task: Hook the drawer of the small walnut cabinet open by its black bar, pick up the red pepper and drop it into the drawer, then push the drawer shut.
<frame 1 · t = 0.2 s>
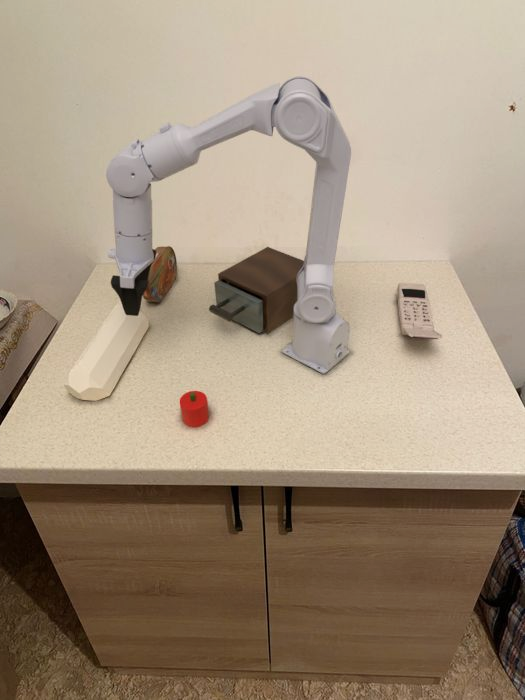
hand: (135, 301, 87), 11 cm above the countertop, tool pointing down, fingers open, 7 cm apart
pepper: (195, 417, 79), on the countertop
crystal: (112, 360, 91), on the countertop
mobile phone: (413, 323, 98), on the countertop
tin: (161, 291, 109), on the countertop
cabinet: (268, 306, 103), on the countertop
drawer: (252, 298, 98), point 4 cm above the countertop, slide at 0.5 cm
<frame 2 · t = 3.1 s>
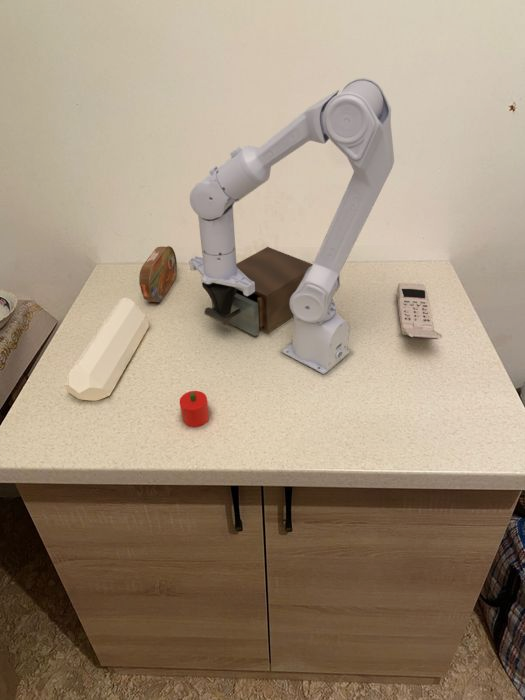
hand: (224, 314, 94), 5 cm above the countertop, tool pointing down, fingers closed, pressing on drawer
drawer: (247, 300, 97), point 4 cm above the countertop, slide at 1.7 cm, touching gripper
everything else where it was.
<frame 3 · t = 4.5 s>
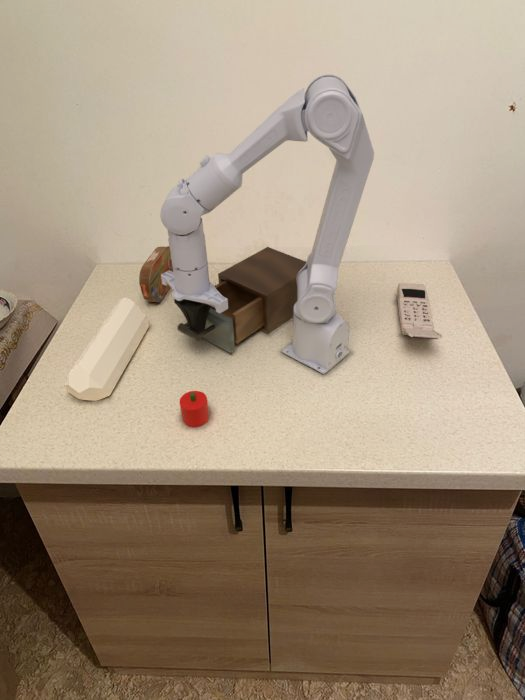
hand: (198, 330, 90), 4 cm above the countertop, tool pointing down, fingers closed, pressing on drawer
drawer: (223, 315, 94), point 4 cm above the countertop, slide at 8.3 cm, touching gripper
everything else where it was.
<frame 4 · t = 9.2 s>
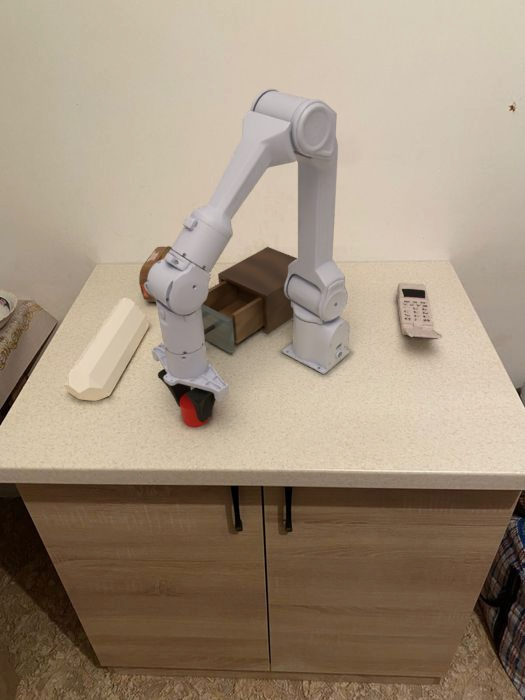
hand: (194, 411, 78), 1 cm above the countertop, tool pointing down, fingers closed on pepper, 4 cm apart
pepper: (196, 417, 79), on the countertop, touching gripper
drawer: (223, 315, 94), point 4 cm above the countertop, slide at 8.3 cm
everything else where it was.
when the fingers open (6 cm above the countertop, at t = 14.1 s): pepper drops 3 cm, resting on drawer.
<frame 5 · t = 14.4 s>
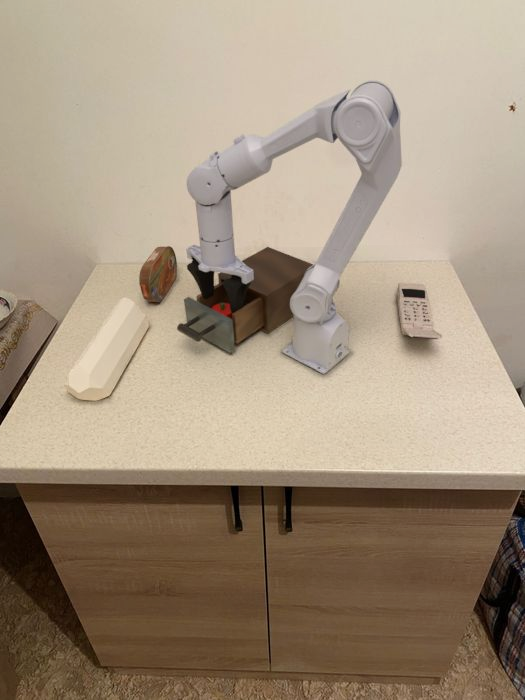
hand: (222, 303, 92), 7 cm above the countertop, tool pointing down, fingers open, 7 cm apart
pepper: (224, 325, 95), point 2 cm above the countertop, touching drawer
drawer: (223, 315, 94), point 4 cm above the countertop, slide at 8.3 cm, touching pepper
everything else where it was.
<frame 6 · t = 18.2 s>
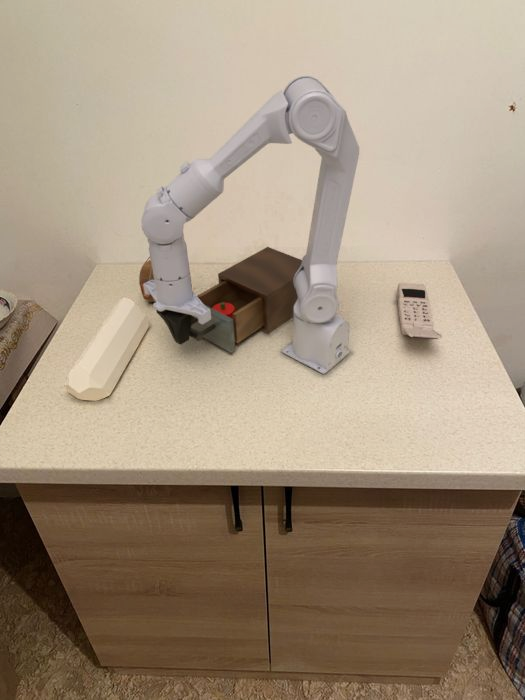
hand: (182, 340, 88), 4 cm above the countertop, tool pointing down, fingers closed, pressing on drawer
drawer: (224, 315, 94), point 4 cm above the countertop, slide at 8.1 cm, touching gripper, pepper
everything else where it was.
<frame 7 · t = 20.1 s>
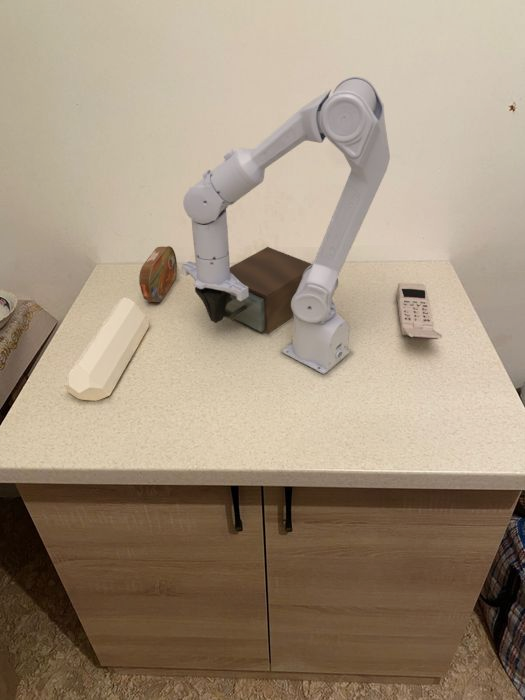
hand: (217, 319, 92), 4 cm above the countertop, tool pointing down, fingers closed, pressing on drawer
pepper: (253, 307, 100), point 2 cm above the countertop, touching drawer
drawer: (253, 296, 98), point 4 cm above the countertop, slide at 0.0 cm, touching cabinet, gripper, pepper
everything else where it was.
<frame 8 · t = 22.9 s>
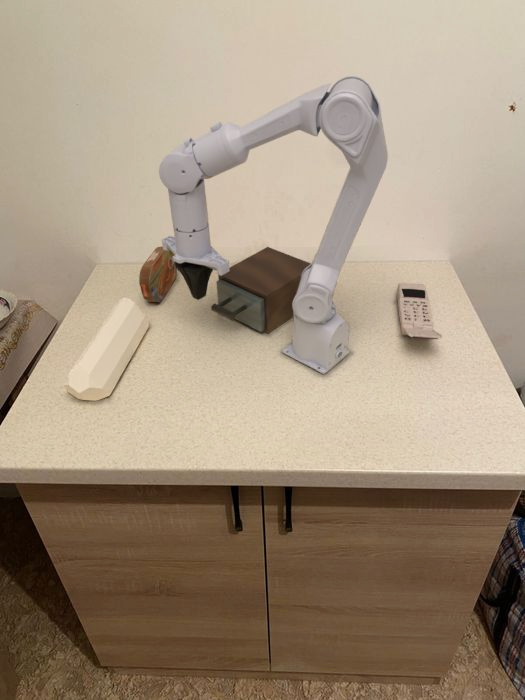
hand: (199, 296, 89), 9 cm above the countertop, tool pointing down, fingers closed
drawer: (253, 296, 98), point 4 cm above the countertop, slide at 0.0 cm, touching pepper
everything else where it was.
at the end: pepper inside the target area in the cabinet (4.2 cm from its centre), point 2.0 cm above the cabinet's base; drawer slide at 0.0 cm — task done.
